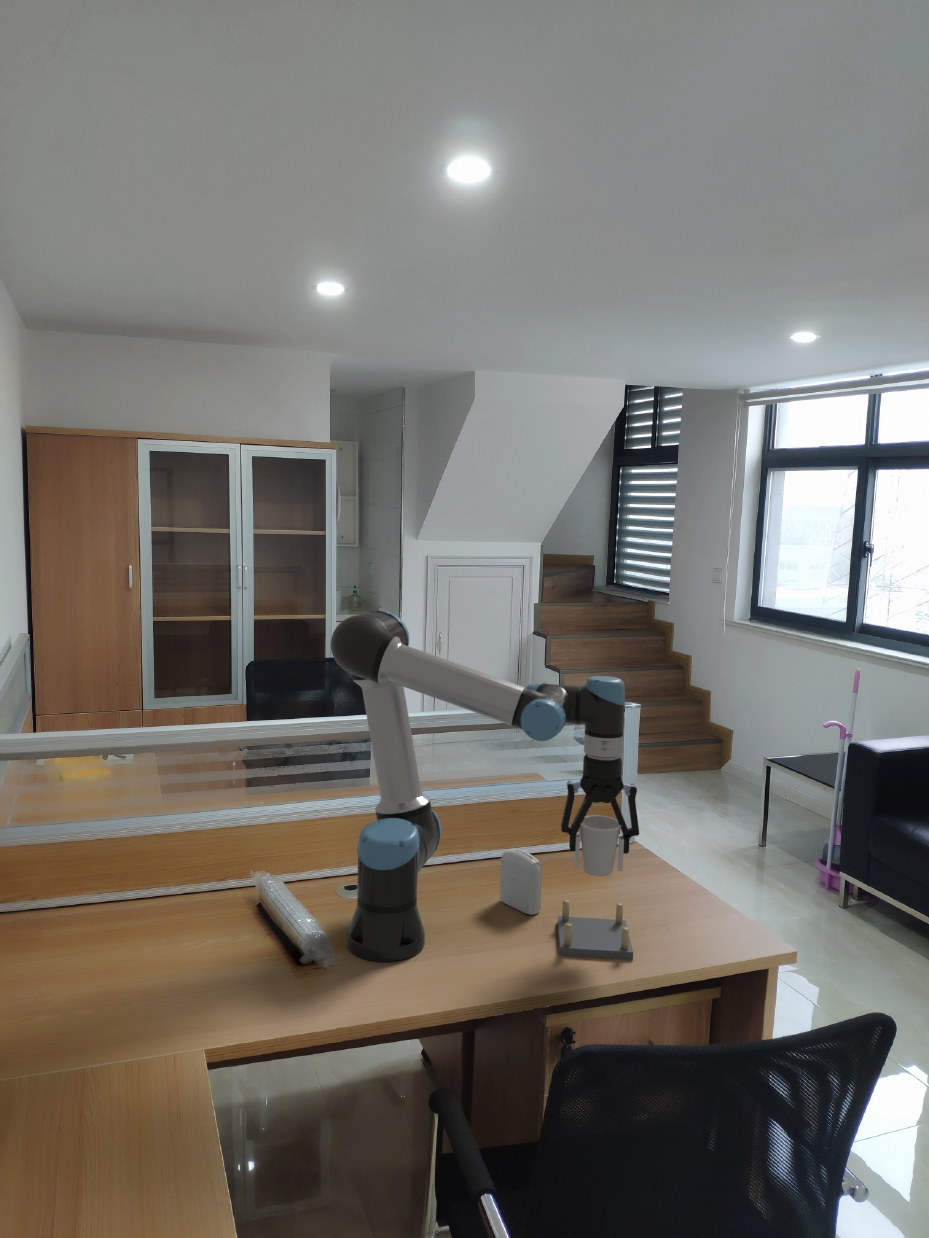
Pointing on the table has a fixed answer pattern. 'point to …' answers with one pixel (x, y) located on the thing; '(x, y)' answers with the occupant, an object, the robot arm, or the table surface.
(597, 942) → the plate
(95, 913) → the table surface
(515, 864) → the photo printer
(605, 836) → the dixie cup
